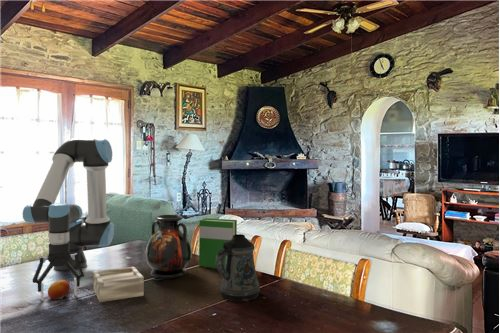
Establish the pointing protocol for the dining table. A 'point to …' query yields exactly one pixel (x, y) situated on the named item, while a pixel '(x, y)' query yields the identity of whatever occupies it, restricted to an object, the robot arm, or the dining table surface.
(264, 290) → the dining table surface
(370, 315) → the dining table surface
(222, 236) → the hardback book
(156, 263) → the amphora vase
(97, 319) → the dining table surface
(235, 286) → the beer stein
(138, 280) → the square tray
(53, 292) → the fruit
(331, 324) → the dining table surface
